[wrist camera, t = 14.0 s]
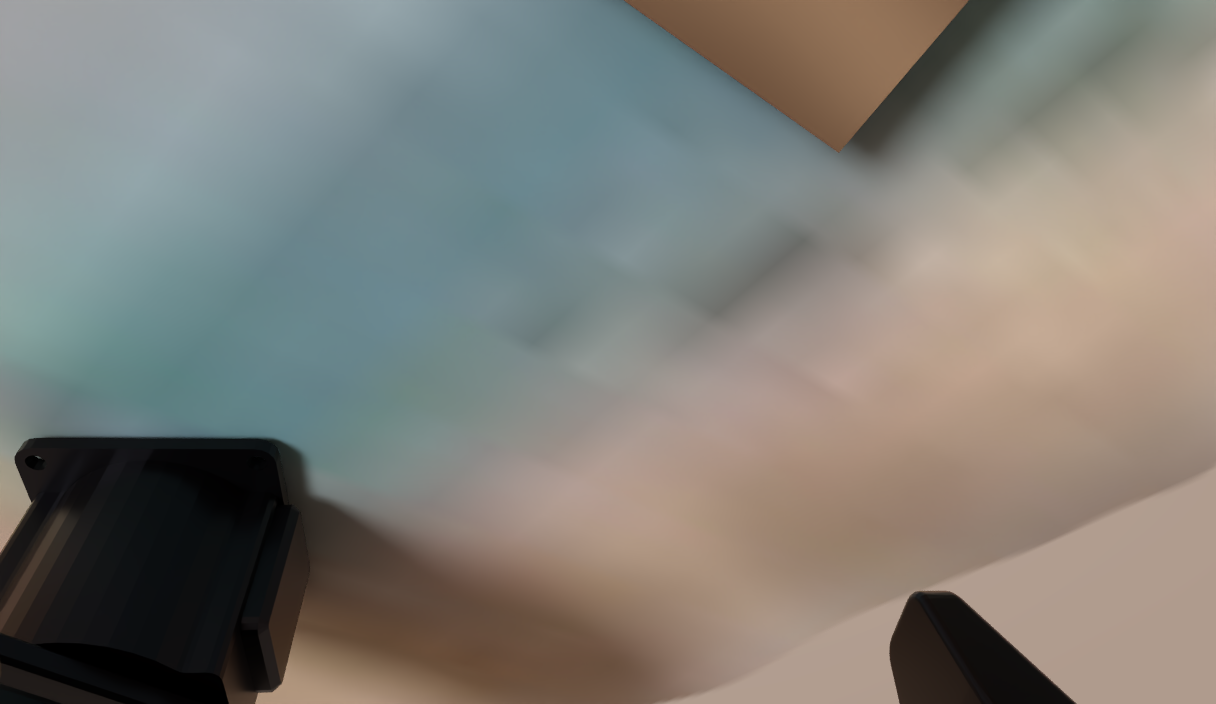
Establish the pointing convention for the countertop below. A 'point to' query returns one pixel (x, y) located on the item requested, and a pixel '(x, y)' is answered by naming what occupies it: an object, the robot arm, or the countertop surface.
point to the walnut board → (810, 50)
